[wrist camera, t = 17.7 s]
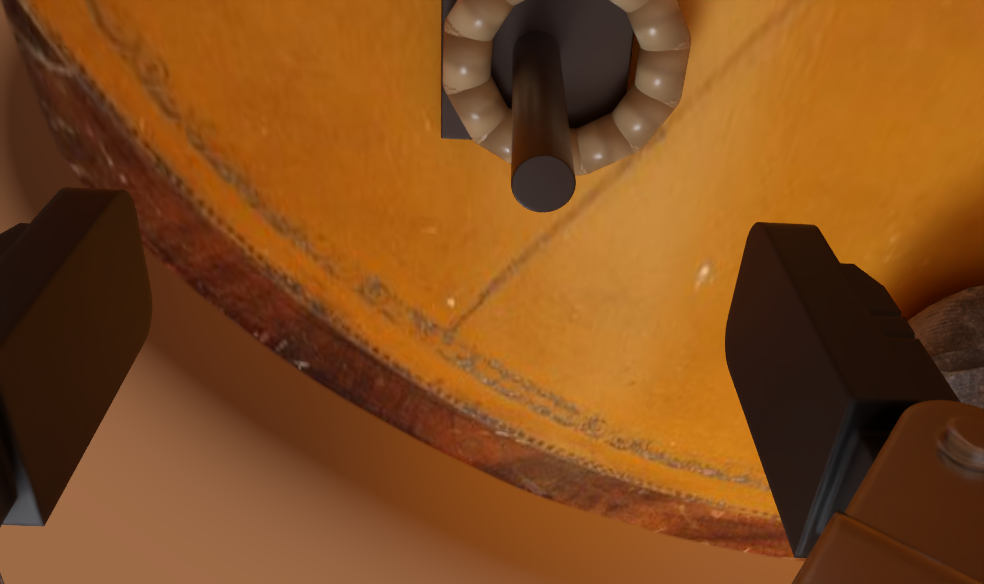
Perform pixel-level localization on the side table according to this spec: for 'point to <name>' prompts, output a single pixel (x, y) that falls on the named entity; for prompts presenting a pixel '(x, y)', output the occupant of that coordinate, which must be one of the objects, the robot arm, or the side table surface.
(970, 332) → the fossil
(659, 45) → the ring
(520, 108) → the peg stand
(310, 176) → the side table surface
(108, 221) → the robot arm
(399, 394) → the side table surface
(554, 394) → the side table surface
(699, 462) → the side table surface
